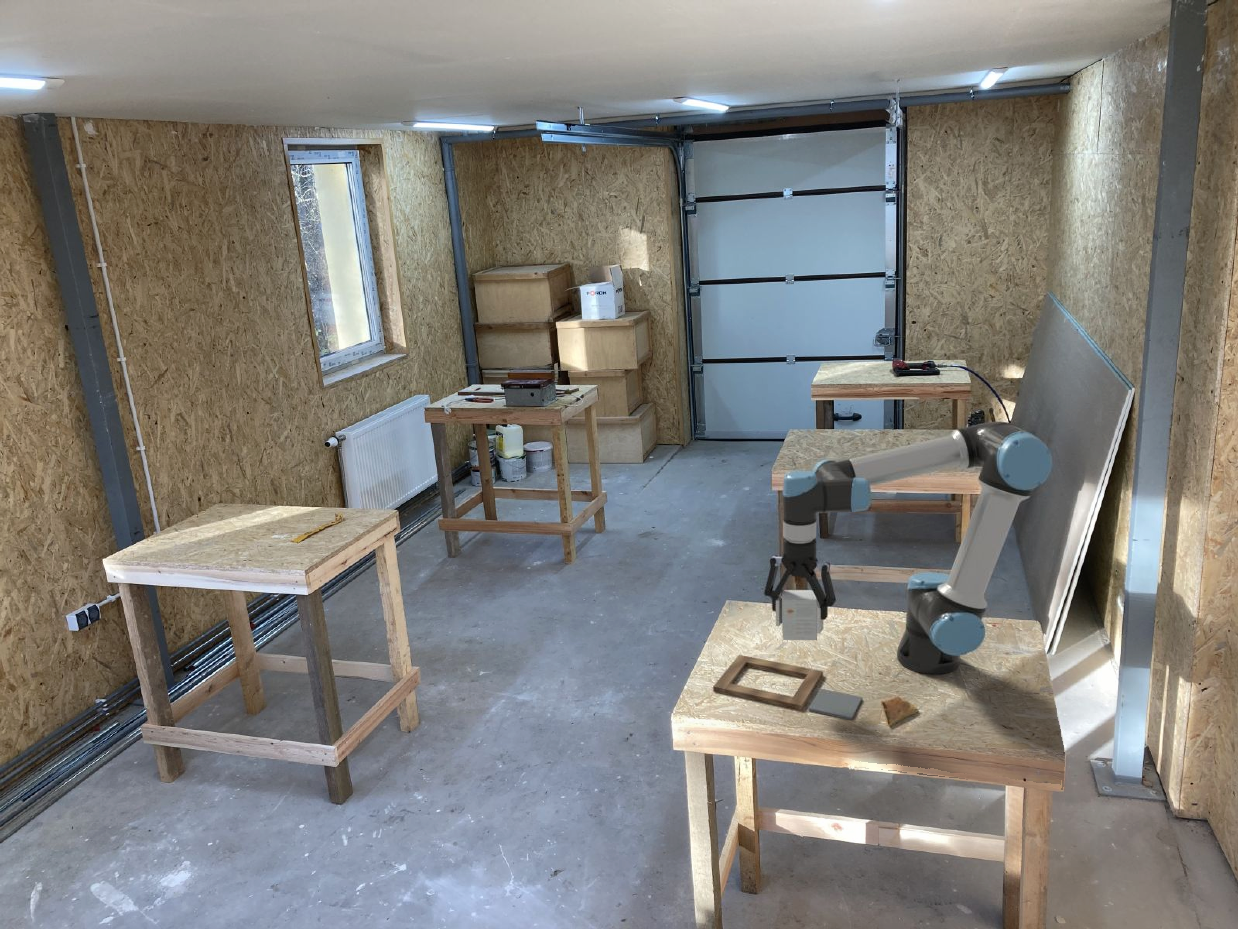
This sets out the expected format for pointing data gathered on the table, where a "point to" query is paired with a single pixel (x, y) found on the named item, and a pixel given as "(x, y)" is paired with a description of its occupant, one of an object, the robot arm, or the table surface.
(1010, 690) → the table surface
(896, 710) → the shard
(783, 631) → the small box
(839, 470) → the robot arm
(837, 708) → the pad
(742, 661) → the wooden picture frame
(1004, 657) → the table surface
